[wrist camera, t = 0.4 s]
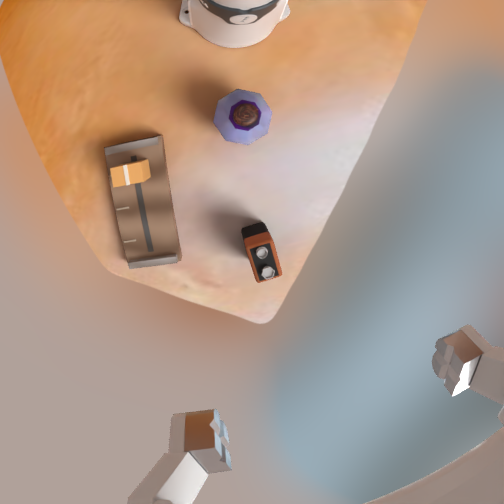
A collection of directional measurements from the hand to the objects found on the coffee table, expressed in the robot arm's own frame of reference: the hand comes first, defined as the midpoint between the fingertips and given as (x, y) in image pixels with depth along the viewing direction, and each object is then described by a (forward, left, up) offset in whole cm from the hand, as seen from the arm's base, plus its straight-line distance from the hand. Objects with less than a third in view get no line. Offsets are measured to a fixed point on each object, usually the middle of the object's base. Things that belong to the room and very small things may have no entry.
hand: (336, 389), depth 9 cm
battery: (+12, +2, -45) cm, 47 cm away
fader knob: (-4, -17, -43) cm, 46 cm away
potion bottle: (-10, +1, -45) cm, 46 cm away
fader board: (+2, -17, -45) cm, 48 cm away
